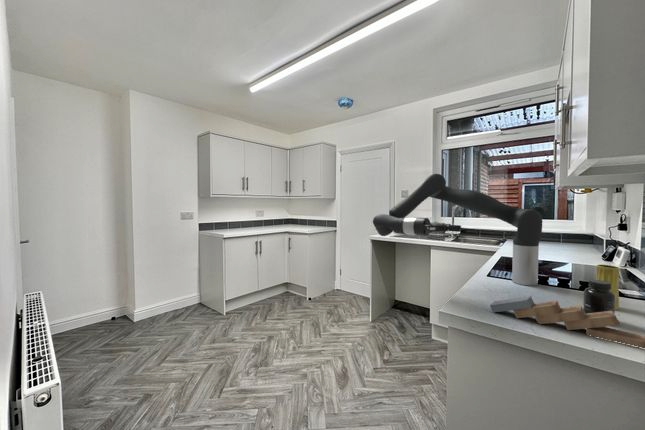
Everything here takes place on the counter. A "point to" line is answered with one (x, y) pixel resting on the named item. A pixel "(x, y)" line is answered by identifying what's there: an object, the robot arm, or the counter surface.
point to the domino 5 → (617, 336)
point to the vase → (610, 279)
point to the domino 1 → (512, 304)
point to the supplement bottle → (598, 297)
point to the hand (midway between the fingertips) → (460, 228)
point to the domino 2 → (539, 309)
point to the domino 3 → (563, 315)
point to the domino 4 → (594, 321)
